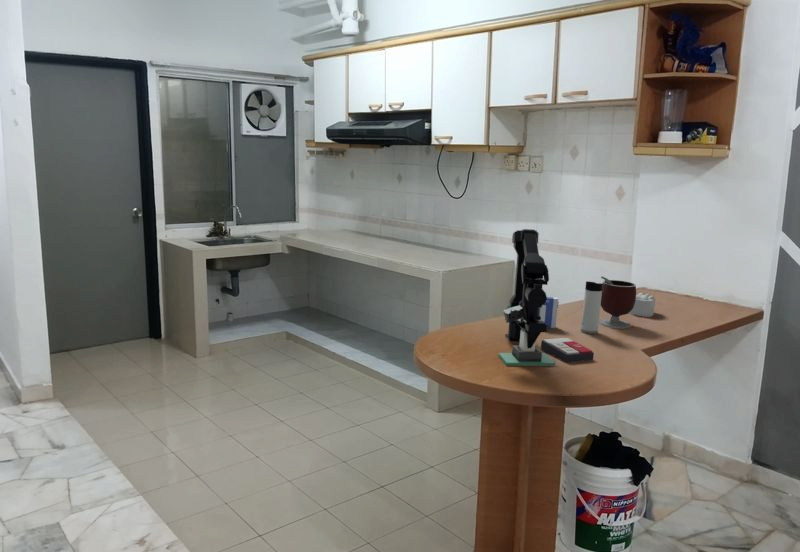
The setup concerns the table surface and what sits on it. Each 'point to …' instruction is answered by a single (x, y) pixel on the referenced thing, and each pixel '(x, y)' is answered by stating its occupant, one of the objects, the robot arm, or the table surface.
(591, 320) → the travel mug
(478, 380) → the table surface
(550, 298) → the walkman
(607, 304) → the mate gourd
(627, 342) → the table surface
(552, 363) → the board
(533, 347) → the plug
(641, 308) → the lumpy-topped squat cylinder
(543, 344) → the dark panelled flat block
